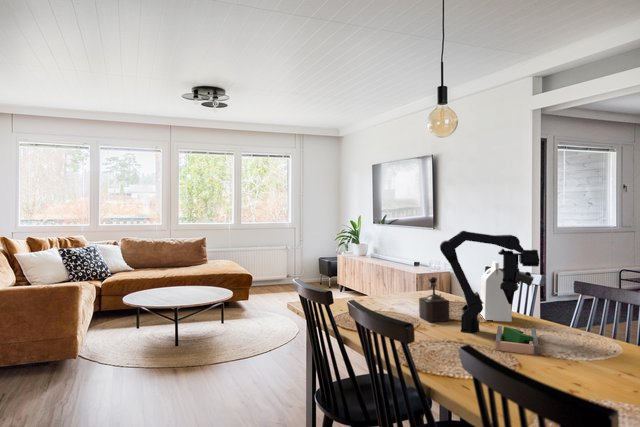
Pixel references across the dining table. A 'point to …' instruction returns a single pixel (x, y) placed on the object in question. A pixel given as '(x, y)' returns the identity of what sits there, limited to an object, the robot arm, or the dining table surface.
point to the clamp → (515, 336)
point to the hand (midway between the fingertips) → (510, 303)
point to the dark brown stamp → (434, 306)
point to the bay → (517, 344)
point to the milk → (494, 296)
